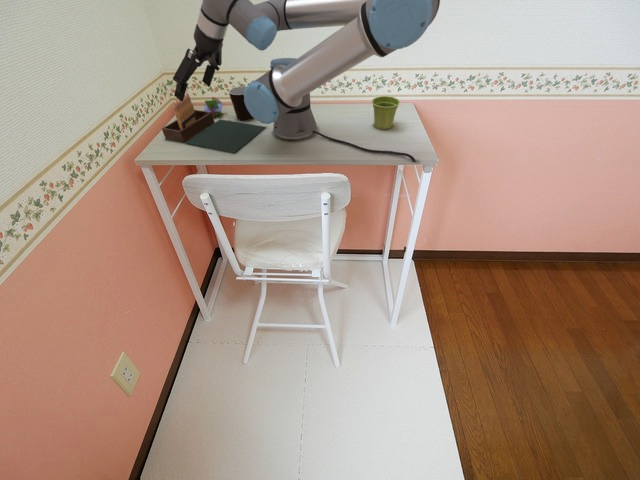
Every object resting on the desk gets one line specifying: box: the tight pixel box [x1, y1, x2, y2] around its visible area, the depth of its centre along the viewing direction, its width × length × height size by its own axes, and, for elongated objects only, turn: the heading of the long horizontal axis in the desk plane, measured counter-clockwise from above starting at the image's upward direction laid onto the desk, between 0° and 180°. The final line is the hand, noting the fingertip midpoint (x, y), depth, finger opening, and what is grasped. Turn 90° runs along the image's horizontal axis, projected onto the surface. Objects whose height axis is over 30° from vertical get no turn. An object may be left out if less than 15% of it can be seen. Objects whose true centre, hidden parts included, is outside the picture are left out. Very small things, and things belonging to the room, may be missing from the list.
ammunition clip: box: [172, 92, 198, 131], centre depth 116 cm, size 11×2×12 cm, turn 169°
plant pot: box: [371, 95, 401, 130], centre depth 114 cm, size 9×9×9 cm
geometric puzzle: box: [203, 96, 224, 119], centre depth 127 cm, size 7×7×8 cm
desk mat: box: [185, 119, 266, 155], centre depth 116 cm, size 20×20×1 cm
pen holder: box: [161, 109, 215, 144], centre depth 119 cm, size 8×17×4 cm, turn 157°
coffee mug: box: [228, 85, 254, 122], centre depth 125 cm, size 12×9×10 cm
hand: (192, 90), depth 106 cm, fingers open, 13 cm apart
